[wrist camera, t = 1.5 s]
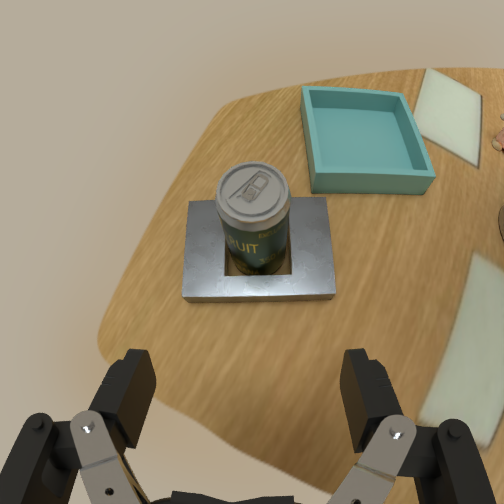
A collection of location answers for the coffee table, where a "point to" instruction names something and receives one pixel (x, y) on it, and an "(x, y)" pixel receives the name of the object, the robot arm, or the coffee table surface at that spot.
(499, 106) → the coffee table surface
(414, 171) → the tray
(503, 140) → the grandmother figurine
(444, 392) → the coffee table surface
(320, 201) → the gray rectangular block
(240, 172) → the beer can
